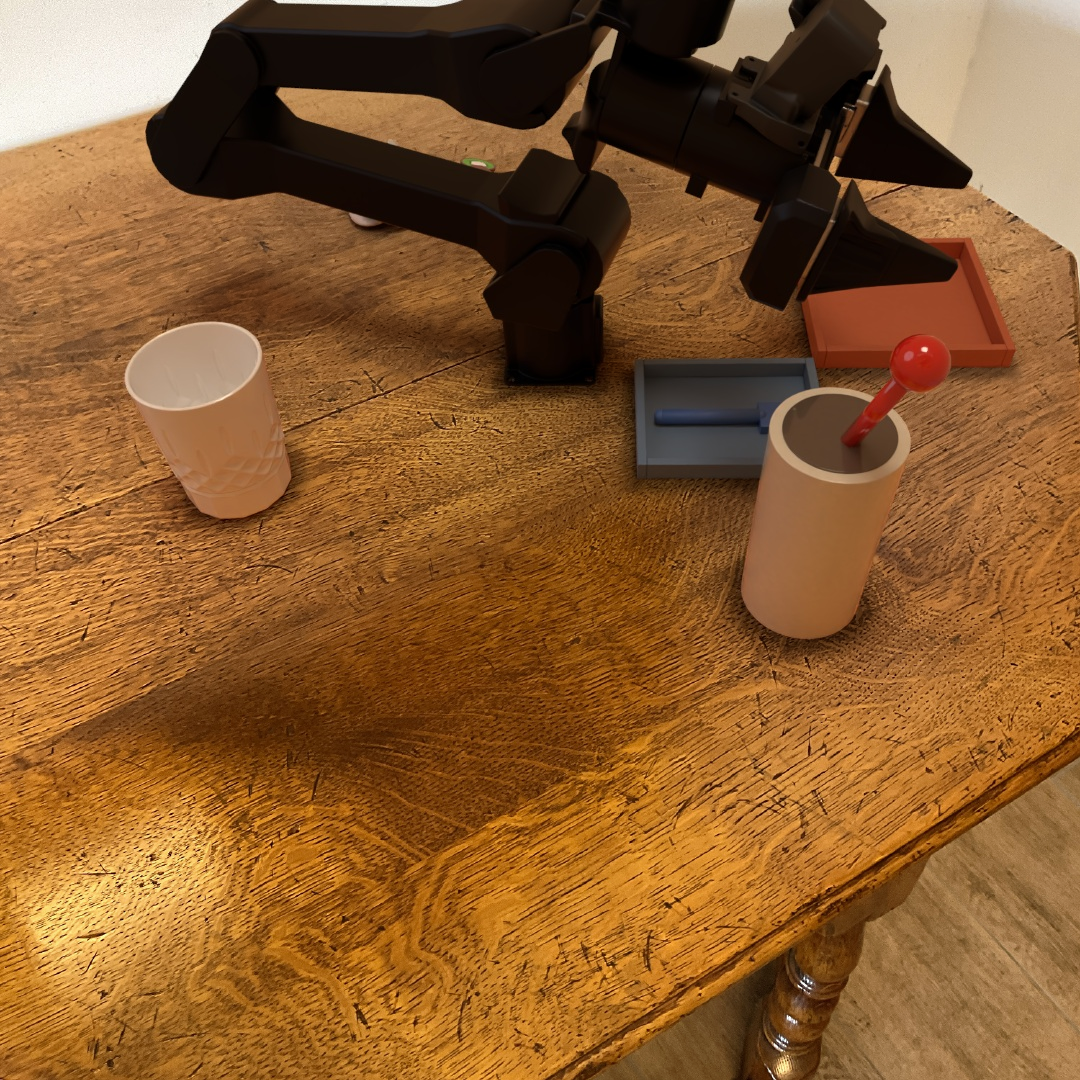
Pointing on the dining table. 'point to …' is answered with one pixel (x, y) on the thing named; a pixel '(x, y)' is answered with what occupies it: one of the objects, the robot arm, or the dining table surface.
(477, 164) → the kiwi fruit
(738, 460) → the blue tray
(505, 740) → the dining table surface
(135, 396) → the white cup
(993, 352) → the terracotta tray
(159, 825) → the dining table surface
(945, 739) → the dining table surface
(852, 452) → the beige spoon holder
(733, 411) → the blue spatula
